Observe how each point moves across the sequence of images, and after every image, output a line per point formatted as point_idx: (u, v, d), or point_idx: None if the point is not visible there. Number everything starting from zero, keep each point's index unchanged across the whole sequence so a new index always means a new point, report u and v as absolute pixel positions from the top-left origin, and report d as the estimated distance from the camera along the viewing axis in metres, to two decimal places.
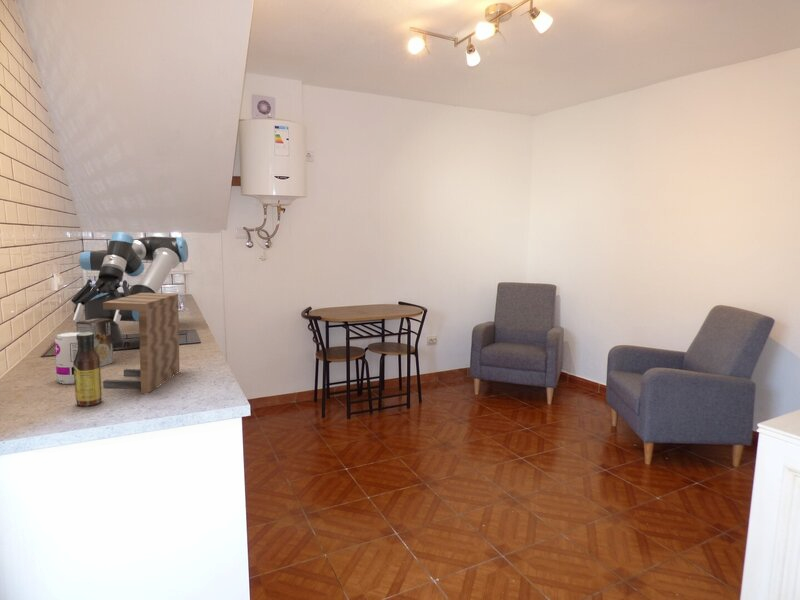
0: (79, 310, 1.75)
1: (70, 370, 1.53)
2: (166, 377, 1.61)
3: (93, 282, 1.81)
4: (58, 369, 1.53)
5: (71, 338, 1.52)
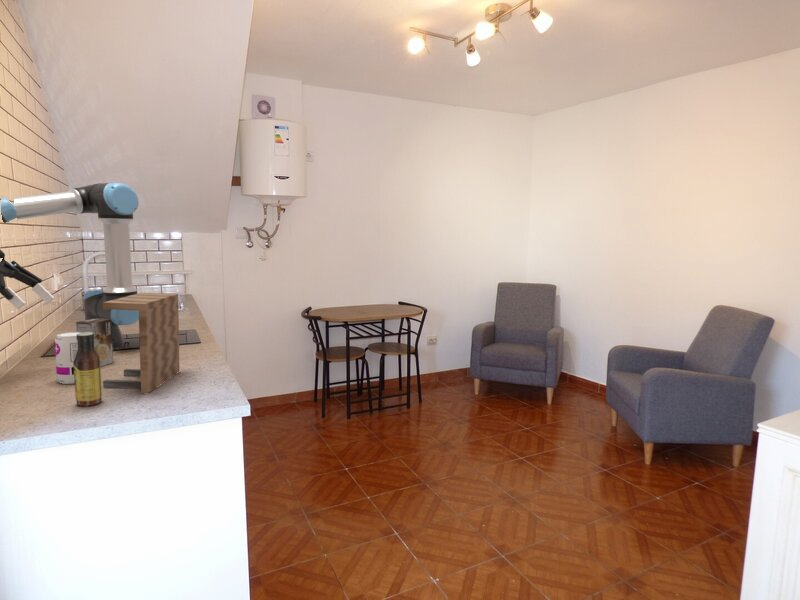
0: (39, 293, 1.60)
1: (70, 370, 1.53)
2: (166, 377, 1.61)
3: None
4: (58, 369, 1.53)
5: (71, 338, 1.52)
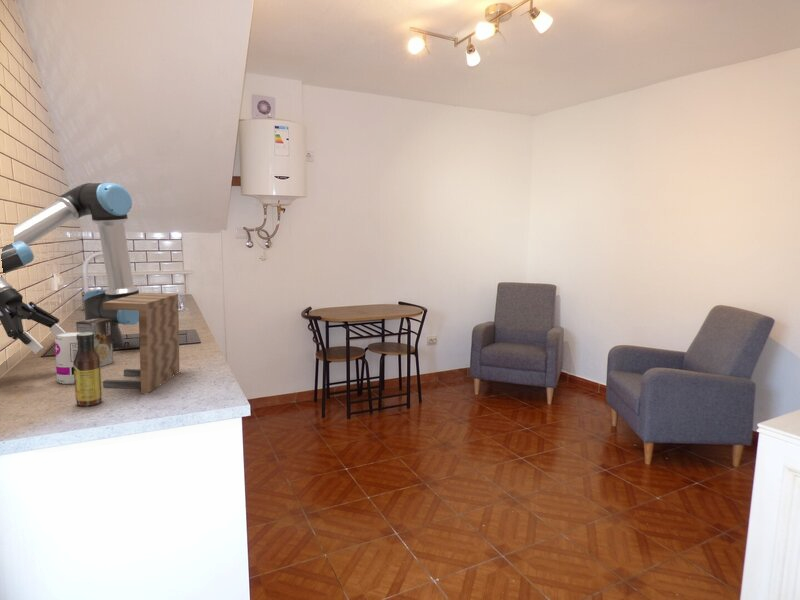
0: (56, 333, 1.60)
1: (70, 370, 1.53)
2: (166, 377, 1.61)
3: None
4: (58, 369, 1.53)
5: (71, 338, 1.52)
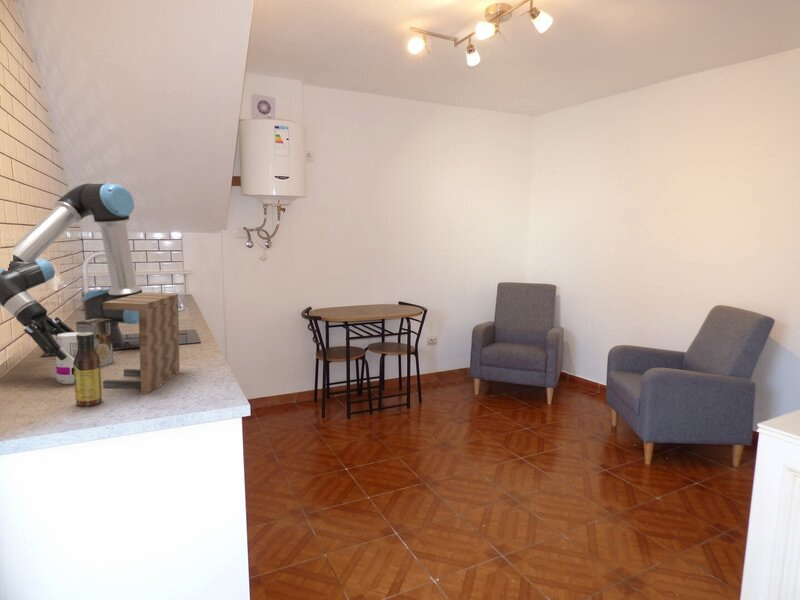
0: None
1: (70, 370, 1.53)
2: (166, 377, 1.61)
3: None
4: (58, 369, 1.53)
5: (71, 338, 1.52)
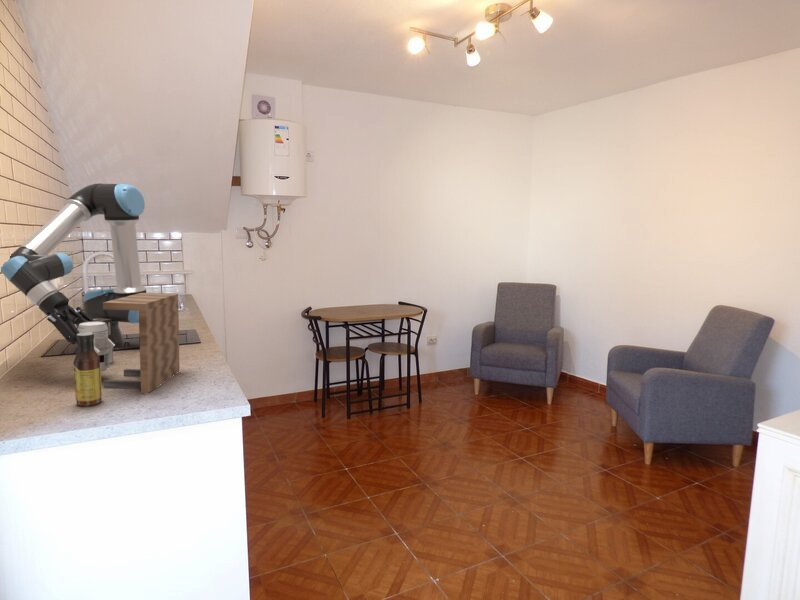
0: None
1: None
2: (166, 377, 1.61)
3: None
4: None
5: (93, 327, 1.53)
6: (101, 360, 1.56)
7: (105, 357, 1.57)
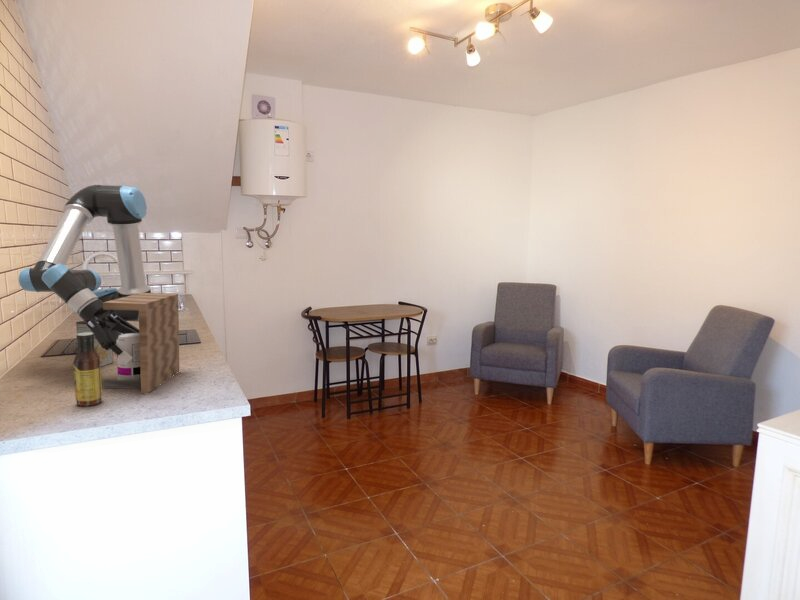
0: None
1: (132, 370, 1.55)
2: (166, 377, 1.61)
3: None
4: (120, 370, 1.55)
5: (133, 339, 1.54)
6: None
7: None
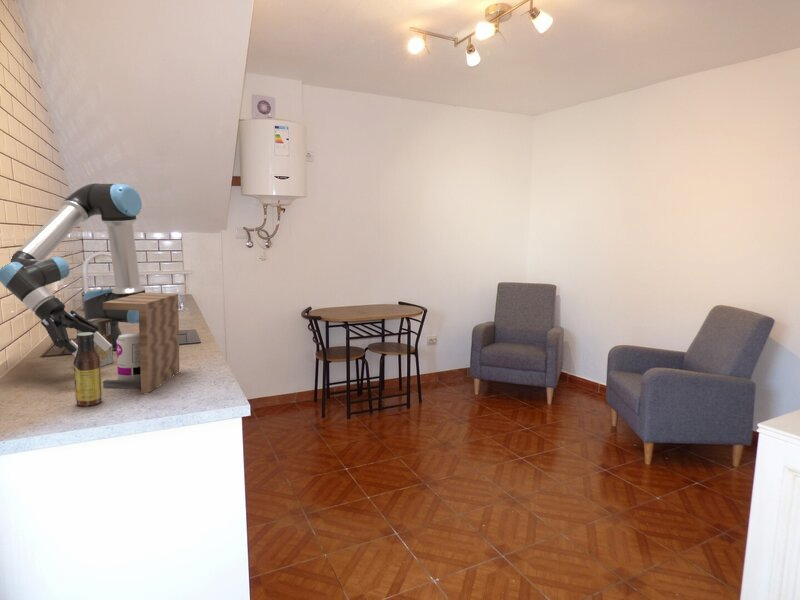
0: (97, 341, 1.63)
1: (132, 370, 1.55)
2: (166, 377, 1.61)
3: None
4: (120, 370, 1.55)
5: (133, 338, 1.54)
6: None
7: None
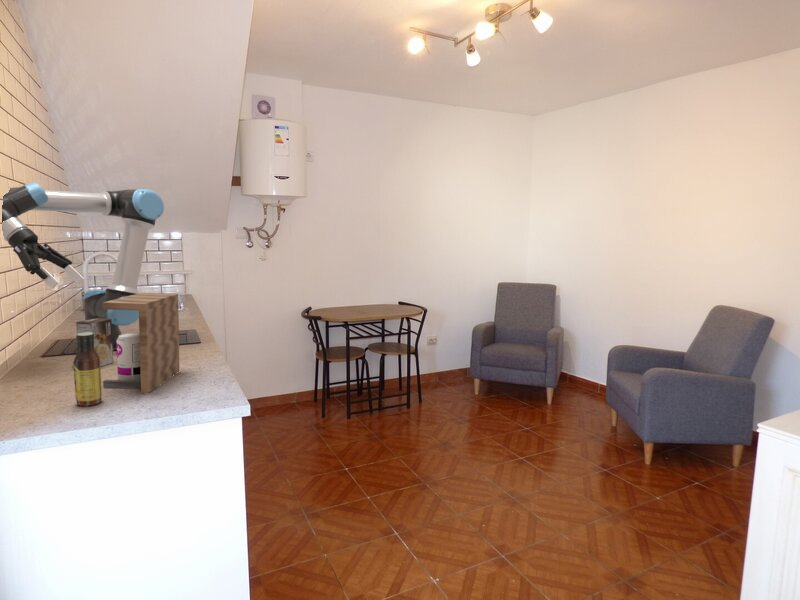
0: (69, 274, 1.69)
1: (132, 370, 1.55)
2: (166, 377, 1.61)
3: None
4: (120, 370, 1.55)
5: (133, 338, 1.54)
6: None
7: None
